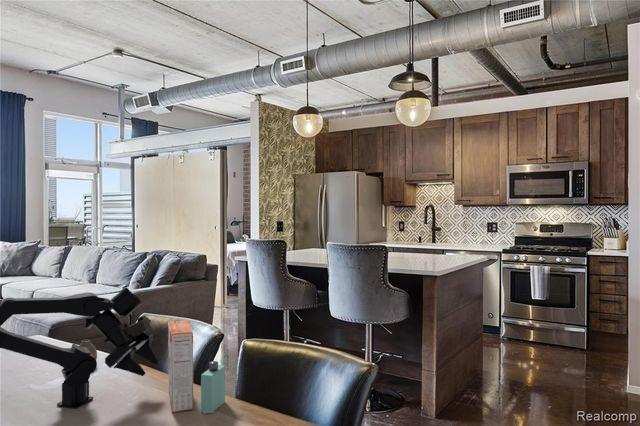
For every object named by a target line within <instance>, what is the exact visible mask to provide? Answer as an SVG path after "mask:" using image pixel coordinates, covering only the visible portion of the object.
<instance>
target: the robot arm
mask: <svg viewBox="0 0 640 426" xmlns="http://www.w3.org/2000/svg"><path fill="white" fill-rule="evenodd" d="M142 304H143V303H142V301H141V300H140V298H139V297H138V296H137V295H135V294H134V293H133V292H132V291H131V290H130V289H129V288H128V287H125V286H124V287H123V288H121V290H120V291H119V292H118V293H117V294H115V296H113V297H112V298H111V299H110V298H107V297H99V296H98V295H96V294H95V293H93V292H88V291H87V292H81V293H77V294H72V295H68V296H61V297H23V298H22V297H18V298H17V297H16V298H15V297H6V298H4V299H2V300H1V302H0V349H3V350H6V351H11V352H13V353H17V354H21V355H24V356H29V357H31V358H34V359H39V360H42V361H46V362H49V363H53V364H56V365H58V366H60V367H61V368H62V369H61V374H62V376H63V378H64V380H63V382H62V383H61V401H59V402H57V403H56V406H58V407H65V408H72V409H77V408H80V407H82V406H83V405H85V404H87V403H88V402H91V401H92V400H94V396H90V381H89V380H90V377H91V375H92V374H93V373H94V372H95V370H96V369H97V366H98V365H97V364H98V362H97V359H95V358H94V356H93V355H92V353H91V352H90V351H89V350H88V348H87V347H80V346H79V345H78V344H75V343H72V345H71V347H67V348H66V347H60V346H57V345H53V344H50V343H48V342H43V341H41V340H37V339H34V338H30V337H27V336H24V335H21V334H18V333H16V332H15V333H14V332H10V331H8V330H6V329H5V328H3V327H2V325H4V323H5V322H7V320H9V319H10V318H11V317H13V316H15V315H38V314H39V315H41V314H70V315H74V316H81V317H85V325H84V328H85V329H86V330H89V329H91V328H92V327H95V329H96V330H97V331H99V333H100V334H101V335H102V336H103V337H105V339H104V340H103V342H104V343H106V344H108V343H110V344H111V345H112V346H113V347H114V349H113V350H112V351H111V352H110V353H109V354H108V355H107V356H106V357H105V358H104V364H105V365H106V366H107V367H108V368H109V369H111V368H113V369H119V370H122V371H126V372H130V373H132V374H135V375H137V376H141V377H144V376H145V375H146V371H145V370H144V368H143V367H142V366H141V364H140V363H139V362H138V361H137V359H136V358H135V354H136V355H138V356H139V357H141V358H143V359H144V360H146V361H149V362H150V363H152V364H153V365H158V364H159V362H160V360H159V359H158V357H157V354H156V353H155V350H154V348H153V346H152V341H153V340H154V337H153V335H154V333H153V332H152V331H151V330H150V329H152V326H151V322H152V320H151V319H150V318H149V317H147V316H146V315H145V314H144V315H142V316H138V317H137V320H136V322H134V323H133V324H130V323H129V322H125V323H123V322H122V320H120V318H121V317H126V318H127V317H128V316H129V315H131V313H133V312H134V311H135V310H136V309H138V308H139V307H140V306H141V305H142ZM112 310H113V311H114V312H115V313H116V314H117V315H115V313H113V311H112ZM117 316H119V317H120V318H119V317H117ZM90 317H91V318H90ZM134 351H135V352H134ZM134 353H135V354H134Z"/></svg>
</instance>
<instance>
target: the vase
mask: <svg viewBox="0 0 640 426" xmlns="http://www.w3.org/2000/svg"><path fill="white" fill-rule="evenodd" d="M78 346H80V347H87V348H88V350H89V351H90V352H91V353H92V355H93V356H94V358H95V359H96V360H97V359H98V352H97V348H96V346H95V345H94V344H93V343H92V342H91V340H90V339H83V340H81V341H80V343H79V345H78Z"/></svg>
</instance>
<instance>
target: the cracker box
mask: <svg viewBox="0 0 640 426" xmlns="http://www.w3.org/2000/svg"><path fill="white" fill-rule="evenodd" d="M167 324H168V325H167V332H168V333H167V335H168V336H167V337H168V339H167V340H168V341H167V343H168V348H167V349H168V395H169V401H170V403H169V404H170V409H171V413H178V412H184V411H185V410H186V411H190V410H191V411H192V410H194V332H193V330H192V328H191V325H190V322H189V319H188V320H187V319H185V320H172V321H168V323H167ZM186 411H185V412H186Z"/></svg>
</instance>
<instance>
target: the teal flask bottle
mask: <svg viewBox="0 0 640 426" xmlns="http://www.w3.org/2000/svg"><path fill="white" fill-rule="evenodd" d="M225 402H226V365H221V364H219V361H217V360H213V361H212V360H211V361H209V362H208V369H207V370H205V371H204V372H202V374H200V413H201V412H205V413H204V414H206V413H212V414H213V413H214V412H216V411H217V410H218V409H219V408H220V407H221V406H222V405H223V404H224V403H225ZM218 407H219V408H218ZM217 408H218V409H217ZM216 409H217V410H216ZM215 410H216V411H215Z"/></svg>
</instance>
